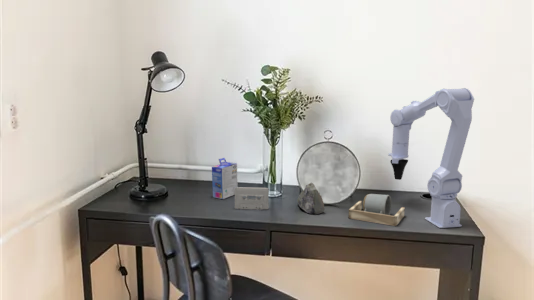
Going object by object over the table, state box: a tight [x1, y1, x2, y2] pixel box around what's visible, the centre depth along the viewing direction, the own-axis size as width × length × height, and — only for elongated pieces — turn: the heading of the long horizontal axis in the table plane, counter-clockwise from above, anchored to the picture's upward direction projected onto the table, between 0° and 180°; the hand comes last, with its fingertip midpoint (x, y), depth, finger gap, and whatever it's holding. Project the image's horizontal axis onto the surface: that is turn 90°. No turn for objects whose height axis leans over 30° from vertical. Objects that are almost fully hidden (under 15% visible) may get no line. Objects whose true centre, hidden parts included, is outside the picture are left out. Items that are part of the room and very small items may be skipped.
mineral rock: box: [296, 182, 325, 215], centre depth 177 cm, size 13×11×10 cm
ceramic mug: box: [362, 193, 392, 215], centre depth 169 cm, size 11×8×8 cm
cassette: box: [234, 186, 270, 210], centre depth 177 cm, size 12×2×8 cm, turn 89°
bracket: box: [347, 200, 405, 227], centre depth 169 cm, size 12×16×3 cm
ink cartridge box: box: [211, 157, 239, 200], centre depth 192 cm, size 10×6×14 cm, turn 148°
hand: (398, 179), depth 183 cm, fingers closed
